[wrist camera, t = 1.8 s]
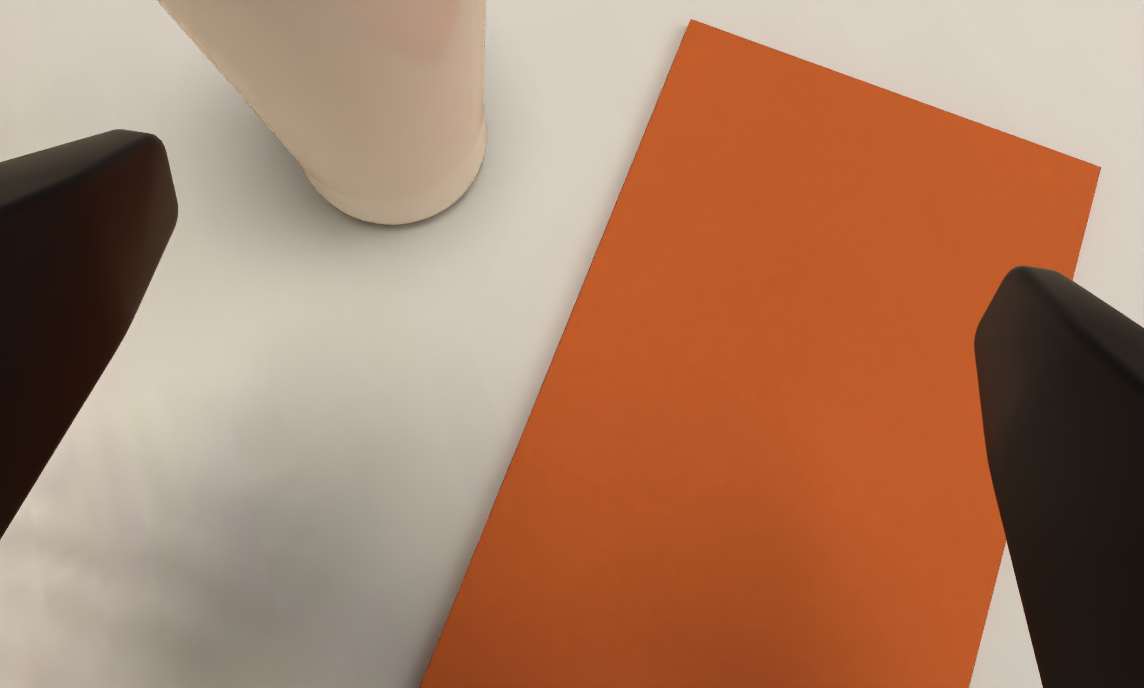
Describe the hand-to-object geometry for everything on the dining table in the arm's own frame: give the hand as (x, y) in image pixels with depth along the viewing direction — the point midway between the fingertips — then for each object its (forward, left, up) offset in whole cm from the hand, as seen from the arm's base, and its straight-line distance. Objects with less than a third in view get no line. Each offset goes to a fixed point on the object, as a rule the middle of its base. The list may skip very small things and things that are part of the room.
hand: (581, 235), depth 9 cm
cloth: (+4, -4, -14) cm, 16 cm away
